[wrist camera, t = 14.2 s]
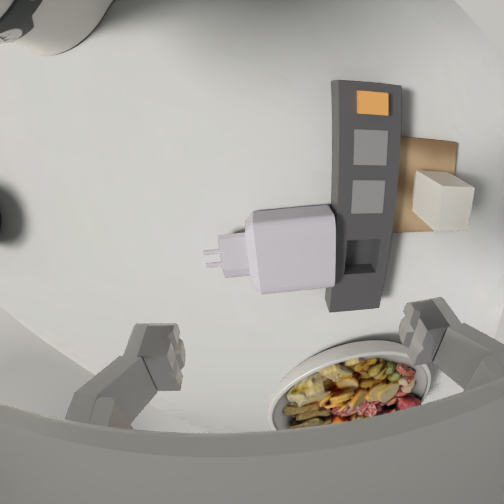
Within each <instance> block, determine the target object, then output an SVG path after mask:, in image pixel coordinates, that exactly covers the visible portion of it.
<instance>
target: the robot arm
mask: <svg viewBox="0 0 504 504" xmlns="http://www.w3.org/2000/svg"><path fill="white" fill-rule="evenodd" d="M112 1H113V0H0V44H1V43H8V42H11V43H14V44H18V45H21V46H24V47H26V48H27V49H29V50H30V51H32V52H34V53H36V54H39V55H45V56H49V55H55V54H59V53H62V52H64V51H67V50H69V49H70V48H72V47H74V46H75V45H77V44H78V43H79V42H81V41H82V40H83V39H84V38H85V37H87V36H88V35H89V34H90V33H91V31H92V30H93V29H94V28H95V27H96V26H97V24H98V23H99V22H100V20H101V19H102V17H103V15H104V14H105V12H106V10H107V9H108V7H109V5H110V4H111V2H112ZM403 312H404V314H405V317H404V318H403V319H402V320H401V322H400V326H399V336H400V340H401V342H402V344H403V345H404V346H405V347H407V348H409V349H408V352H407V354H408V356H409V358H410V360H411V362H412V365H413V366H417V365H422V364H427V363H432V362H433V363H432V364H434V365H435V366H436V367H437V368H439V369H440V370H441V371H442V372H444V373H445V374H446V375H447V376H449V377H450V378H451V379H452V380H453V381H455V382H456V383H457V384H458V385H460V386H461V387H462V388H463V389H464V391H463V392H461V393H458V394H455V395H452V396H449V397H446V398H443V399H440V400H436V401H433V402H430V403H426V404H423V405H419V406H415V407H412V408H408V409H404V410H400V411H396V412H391V413H387V414H383V415H378V416H373V417H369V418H363V419H358V420H353V421H347V422H341V423H335V424H328V425H321V426H314V427H306V428H297V429H287V430H275V431H262V432H242V433H176V432H158V431H144V430H134V429H133V428H132V426H131V425H130V424H131V423H132V421H133V420H134V419H135V418H136V417H137V416H138V414H139V413H140V412H141V411H142V410H143V408H144V407H145V406H146V405H147V404H148V403H149V401H150V400H151V399H152V398H153V397H154V396H155V394H156V393H157V391H180V390H181V383H182V377H183V375H182V372H181V369H182V368H183V367H184V364H185V348H184V344H183V341H182V340H181V339H180V338H179V335H180V330H179V327H178V324H176V323H149V324H136V325H134V327H133V330H132V332H131V335H130V338H129V341H128V344H127V346H126V349H125V352H124V355H123V356H119V357H118V358H117V359H115V360H114V361H113V362H112V363H110V364H109V365H108V366H107V367H105V368H104V369H103V370H102V371H101V372H99V373H98V374H97V375H96V376H94V377H93V378H92V379H91V380H90V381H88V382H87V383H86V384H85V385H84V386H82V387H81V388H80V389H79V390H77V391H76V392H75V393H74V396H73V398H72V401H71V403H70V406H69V409H68V412H67V414H66V417H65V419H60V418H55V417H50V416H46V415H41V414H37V413H33V412H29V411H25V410H21V409H18V408H14V407H10V406H7V405H4V404H1V403H0V504H504V344H502V343H500V342H498V341H497V340H495V339H493V338H491V337H489V336H488V335H486V334H484V333H482V332H480V331H478V330H477V329H475V328H473V327H471V326H469V325H467V324H465V323H462V324H461V322H460V321H459V319H458V318H457V316H456V315H455V314H454V312H453V311H452V310H451V308H450V307H449V305H448V304H447V303H446V301H445V300H444V299H443V298H441V297H438V298H433V299H429V300H422V301H416V302H410V303H407V304H406V305H405V307H404V311H403Z"/></svg>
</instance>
